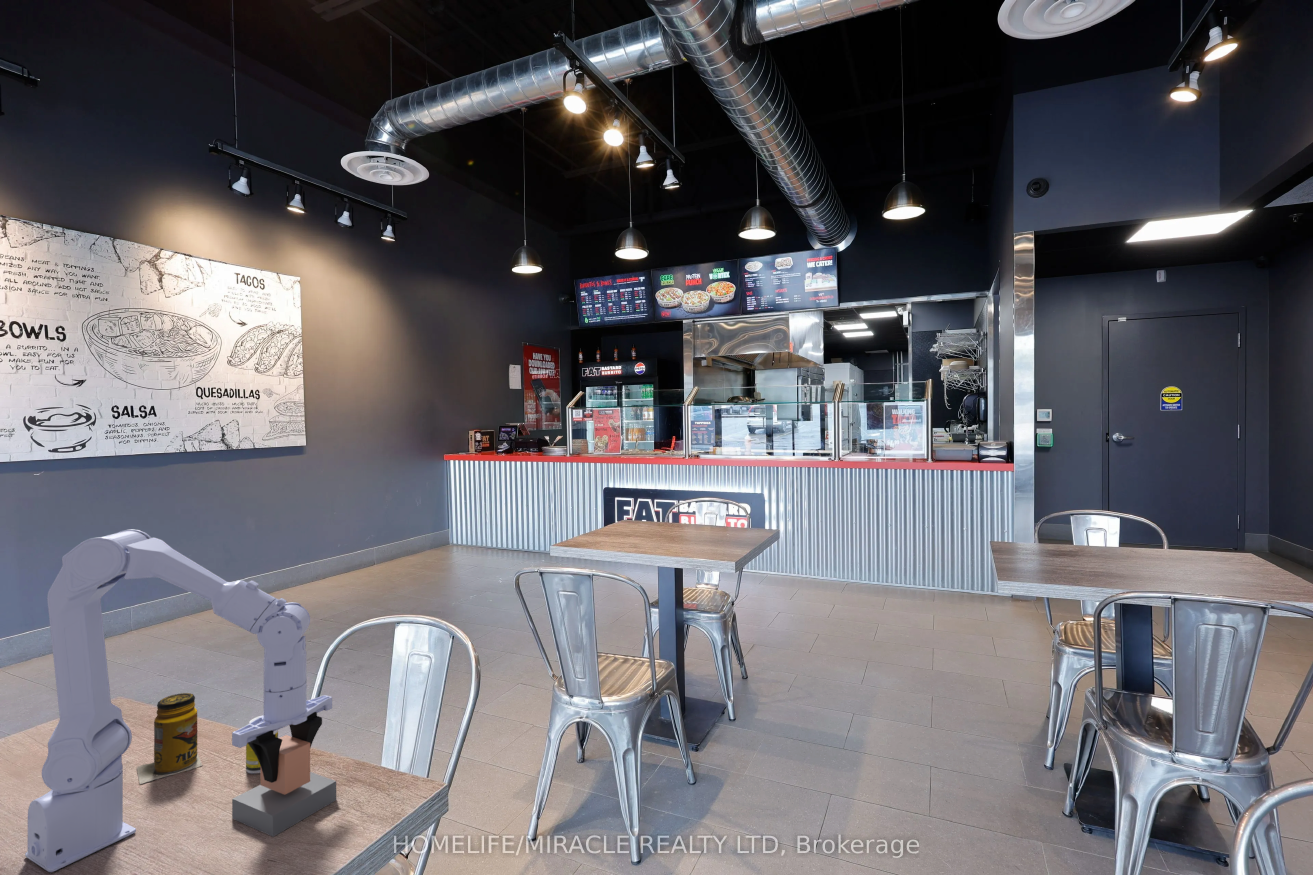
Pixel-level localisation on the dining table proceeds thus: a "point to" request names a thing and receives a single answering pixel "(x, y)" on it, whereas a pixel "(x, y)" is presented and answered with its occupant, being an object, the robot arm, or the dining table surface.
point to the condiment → (173, 738)
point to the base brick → (282, 805)
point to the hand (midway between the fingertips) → (285, 772)
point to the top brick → (291, 766)
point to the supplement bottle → (253, 756)
